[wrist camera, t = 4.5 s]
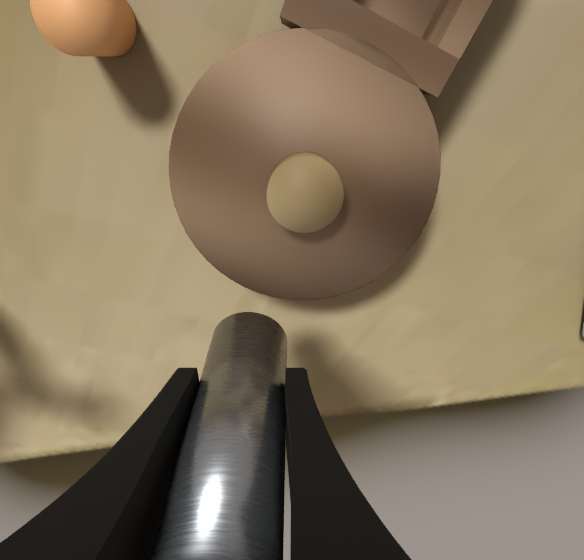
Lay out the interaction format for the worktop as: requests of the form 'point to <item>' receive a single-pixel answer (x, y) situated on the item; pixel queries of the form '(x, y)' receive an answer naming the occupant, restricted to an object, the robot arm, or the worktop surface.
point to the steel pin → (232, 451)
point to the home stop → (86, 26)
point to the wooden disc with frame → (319, 143)
